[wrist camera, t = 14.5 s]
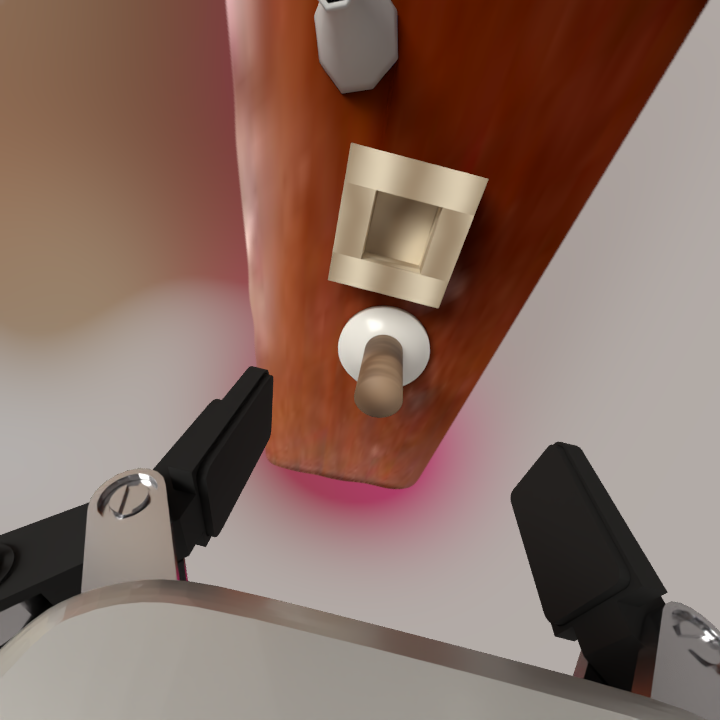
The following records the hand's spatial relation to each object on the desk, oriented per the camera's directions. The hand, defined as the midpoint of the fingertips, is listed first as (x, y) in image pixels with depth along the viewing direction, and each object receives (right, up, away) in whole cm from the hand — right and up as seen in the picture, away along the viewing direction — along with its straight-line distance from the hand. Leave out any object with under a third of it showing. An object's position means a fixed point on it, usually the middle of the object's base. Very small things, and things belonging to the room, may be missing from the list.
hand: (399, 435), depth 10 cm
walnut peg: (+2, +4, +29) cm, 30 cm away
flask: (-2, +30, +16) cm, 34 cm away
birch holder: (+3, +17, +23) cm, 29 cm away
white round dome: (+2, +4, +30) cm, 31 cm away
